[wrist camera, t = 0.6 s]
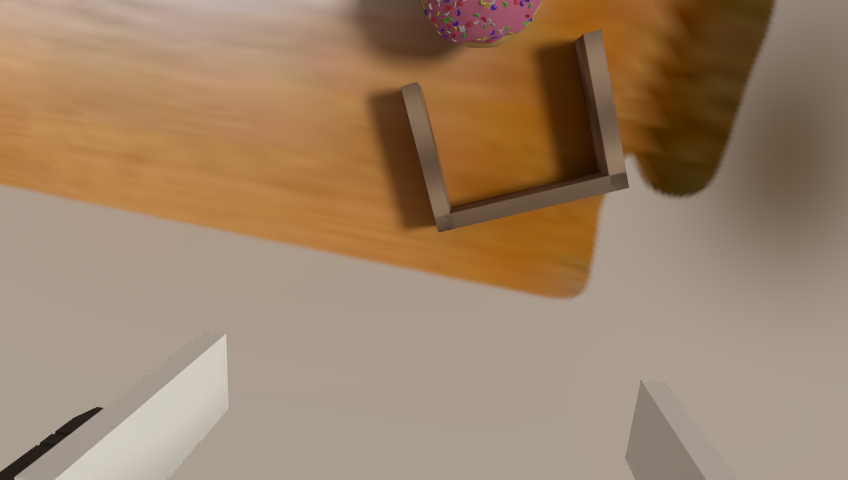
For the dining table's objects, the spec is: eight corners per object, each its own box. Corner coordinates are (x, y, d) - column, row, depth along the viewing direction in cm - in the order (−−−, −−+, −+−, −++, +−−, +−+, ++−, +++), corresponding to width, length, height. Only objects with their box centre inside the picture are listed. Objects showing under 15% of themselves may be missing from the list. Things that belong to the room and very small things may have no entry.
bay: (406, 90, 38) (400, 86, 35) (590, 37, 36) (601, 29, 33) (441, 225, 40) (438, 232, 37) (617, 183, 38) (628, 187, 35)
